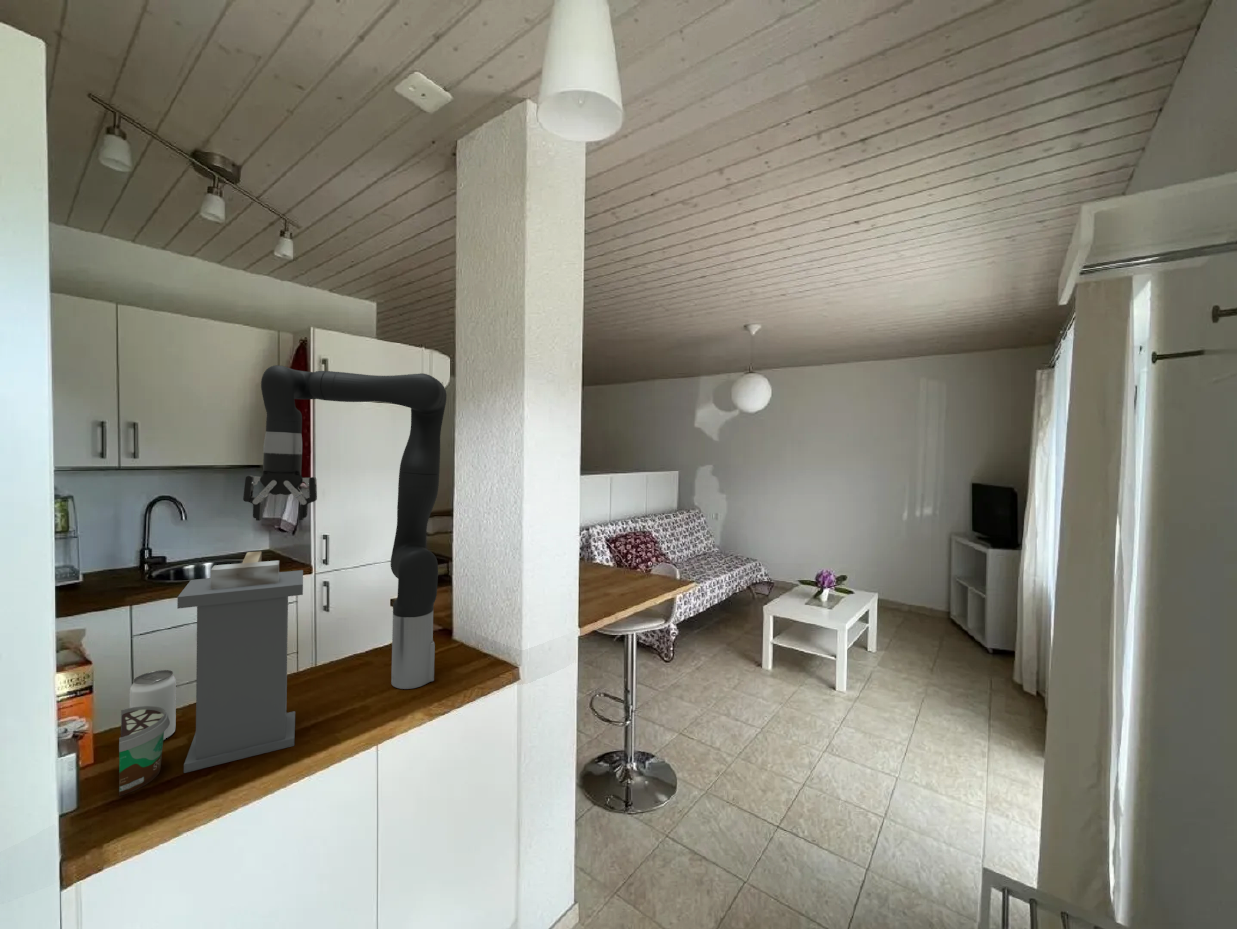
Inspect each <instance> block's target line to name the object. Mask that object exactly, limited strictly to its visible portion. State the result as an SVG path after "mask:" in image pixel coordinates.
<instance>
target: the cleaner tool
mask: <svg viewBox="0 0 1237 929" xmlns="http://www.w3.org/2000/svg"><path fill="white" fill-rule="evenodd" d="M262 554H263V553H262V551H261V550H260V551H249V552H247V551H246V554H245V556H244V558H243V560H242V562H241V563H231V564H230V563H227V564H218V565H217V564H215V565H213V566H212V568H211V569H210V578H211V589H221V588H232V587H242V586H252V585H263V584H273V583H278V581H279V572H280V560H270V561H269V560H267V561H262V560H263V559H262V558H263V557H262Z"/></svg>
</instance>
